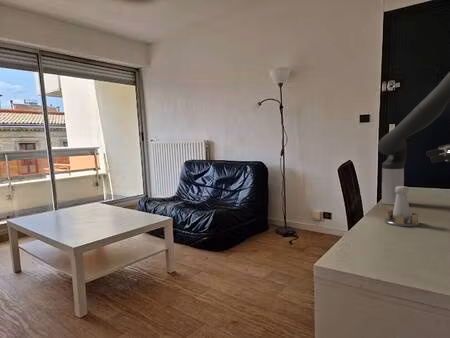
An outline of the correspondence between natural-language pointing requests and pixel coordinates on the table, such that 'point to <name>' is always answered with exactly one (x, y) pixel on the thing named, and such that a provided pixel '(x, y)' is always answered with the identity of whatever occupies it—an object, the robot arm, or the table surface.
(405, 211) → the salt shaker
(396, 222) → the disc with wooden blocks
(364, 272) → the table surface
